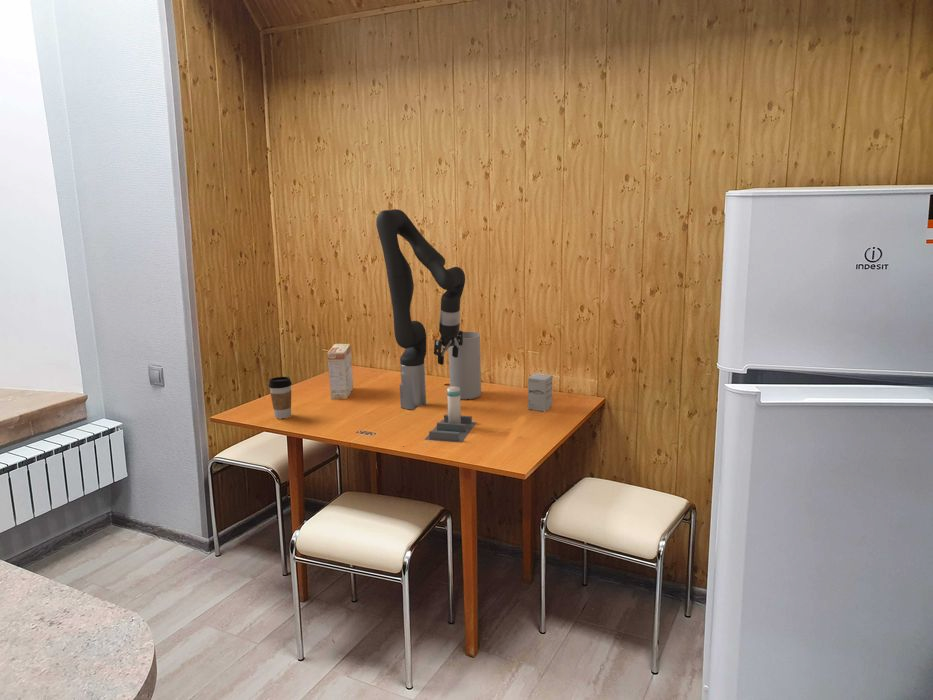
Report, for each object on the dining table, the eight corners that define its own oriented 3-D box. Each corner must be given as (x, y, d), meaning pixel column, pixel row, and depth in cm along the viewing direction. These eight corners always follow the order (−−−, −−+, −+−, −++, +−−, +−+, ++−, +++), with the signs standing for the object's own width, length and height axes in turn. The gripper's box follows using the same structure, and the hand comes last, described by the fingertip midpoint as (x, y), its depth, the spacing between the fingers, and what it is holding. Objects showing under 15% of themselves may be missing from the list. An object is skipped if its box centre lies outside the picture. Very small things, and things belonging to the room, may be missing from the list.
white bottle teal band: (446, 428, 252) (445, 389, 249) (450, 423, 256) (449, 385, 253) (459, 429, 251) (458, 390, 248) (462, 424, 255) (461, 386, 252)
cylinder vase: (454, 401, 286) (452, 339, 280) (447, 392, 298) (445, 333, 292) (484, 398, 289) (483, 337, 283) (476, 389, 300) (475, 330, 294)
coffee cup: (267, 419, 271) (263, 380, 268) (280, 412, 279) (276, 374, 275) (286, 421, 268) (282, 382, 265) (298, 414, 276) (295, 376, 272)
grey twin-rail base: (424, 443, 243) (423, 432, 242) (442, 423, 261) (441, 413, 260) (461, 446, 239) (461, 435, 238) (477, 426, 258) (476, 415, 257)
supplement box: (527, 409, 274) (527, 377, 271) (534, 404, 280) (534, 372, 277) (545, 412, 270) (545, 379, 267) (552, 406, 277) (552, 374, 274)
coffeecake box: (337, 388, 307) (334, 343, 303) (354, 388, 307) (351, 343, 302) (329, 399, 293) (326, 352, 288) (347, 399, 293) (344, 352, 288)
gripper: (453, 312, 274) (451, 351, 281) (429, 323, 263) (427, 363, 270) (469, 318, 270) (467, 357, 276) (445, 329, 259) (443, 369, 266)
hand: (447, 360), depth 273 cm, fingers open, 8 cm apart
